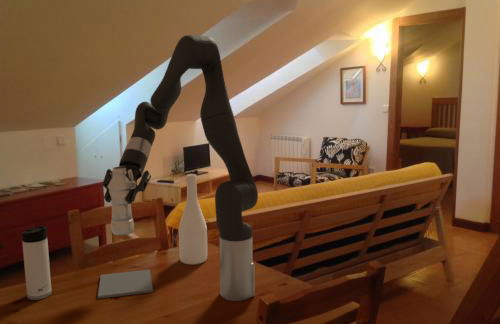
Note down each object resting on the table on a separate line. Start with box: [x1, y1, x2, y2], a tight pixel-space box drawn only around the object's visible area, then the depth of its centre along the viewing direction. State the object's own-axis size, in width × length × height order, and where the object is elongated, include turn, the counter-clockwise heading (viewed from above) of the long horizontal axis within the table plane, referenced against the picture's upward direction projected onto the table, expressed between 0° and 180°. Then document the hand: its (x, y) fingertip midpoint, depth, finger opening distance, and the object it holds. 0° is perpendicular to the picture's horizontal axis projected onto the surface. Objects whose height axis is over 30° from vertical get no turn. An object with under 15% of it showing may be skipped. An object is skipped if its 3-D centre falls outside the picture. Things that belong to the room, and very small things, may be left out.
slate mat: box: [97, 269, 153, 300], centre depth 129 cm, size 15×15×1 cm
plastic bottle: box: [108, 166, 135, 236], centre depth 125 cm, size 6×7×20 cm
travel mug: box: [21, 225, 52, 301], centre depth 120 cm, size 6×7×20 cm
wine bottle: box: [178, 173, 208, 266], centre depth 145 cm, size 10×10×30 cm
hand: (117, 201), depth 123 cm, fingers closed on plastic bottle, 6 cm apart
